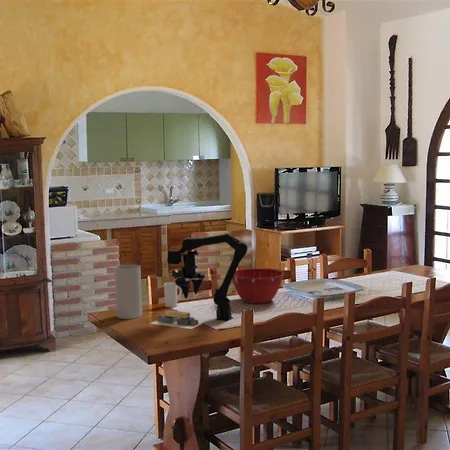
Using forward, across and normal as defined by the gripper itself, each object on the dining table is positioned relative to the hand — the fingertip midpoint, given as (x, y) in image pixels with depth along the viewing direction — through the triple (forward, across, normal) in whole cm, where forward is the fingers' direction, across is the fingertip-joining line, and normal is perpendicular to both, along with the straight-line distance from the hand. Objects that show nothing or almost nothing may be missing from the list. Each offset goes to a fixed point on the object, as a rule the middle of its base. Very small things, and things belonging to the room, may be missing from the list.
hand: (190, 296), depth 304 cm
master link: (+11, +8, -3) cm, 14 cm away
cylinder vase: (+11, +6, -32) cm, 35 cm away
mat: (+12, +8, -3) cm, 14 cm away
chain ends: (+11, +8, -3) cm, 14 cm away
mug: (+12, -21, -23) cm, 34 cm away
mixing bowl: (+12, -47, +14) cm, 51 cm away
